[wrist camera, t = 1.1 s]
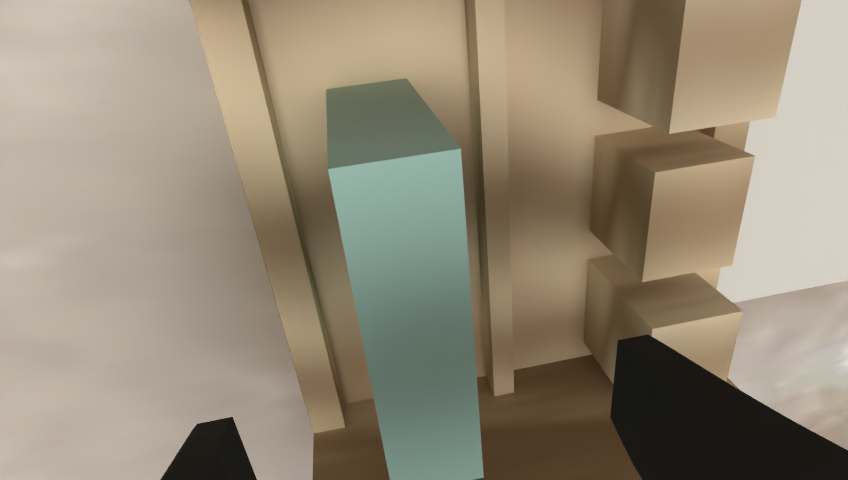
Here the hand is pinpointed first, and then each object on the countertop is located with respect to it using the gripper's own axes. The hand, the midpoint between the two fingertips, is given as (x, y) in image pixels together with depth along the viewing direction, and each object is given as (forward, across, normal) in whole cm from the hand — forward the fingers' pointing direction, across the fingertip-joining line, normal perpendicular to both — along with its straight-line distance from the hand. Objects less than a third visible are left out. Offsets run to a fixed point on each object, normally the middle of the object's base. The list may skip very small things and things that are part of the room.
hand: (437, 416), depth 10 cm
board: (+9, 0, 0) cm, 9 cm away
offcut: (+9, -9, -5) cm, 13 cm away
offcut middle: (+9, -9, 0) cm, 13 cm away
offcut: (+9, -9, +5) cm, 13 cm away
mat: (+10, -16, 0) cm, 19 cm away
